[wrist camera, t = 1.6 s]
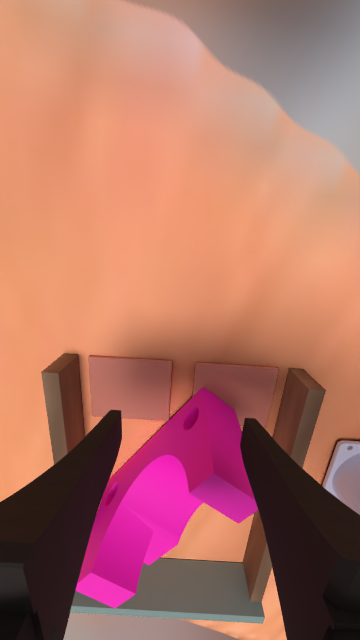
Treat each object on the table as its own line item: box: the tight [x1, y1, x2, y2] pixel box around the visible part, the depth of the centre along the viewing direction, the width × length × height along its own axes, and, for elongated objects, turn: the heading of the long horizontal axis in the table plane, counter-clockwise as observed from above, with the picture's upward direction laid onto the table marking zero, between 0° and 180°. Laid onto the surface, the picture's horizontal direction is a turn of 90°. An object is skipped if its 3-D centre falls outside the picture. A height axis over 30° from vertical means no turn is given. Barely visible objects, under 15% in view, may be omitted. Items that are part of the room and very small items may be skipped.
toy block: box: [76, 387, 258, 608], centre depth 17 cm, size 15×6×8 cm, turn 141°
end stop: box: [70, 558, 265, 623], centre depth 24 cm, size 20×1×4 cm, turn 86°
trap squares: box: [88, 355, 279, 427], centre depth 19 cm, size 16×6×1 cm, turn 86°
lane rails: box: [41, 354, 326, 602], centre depth 20 cm, size 20×26×3 cm
